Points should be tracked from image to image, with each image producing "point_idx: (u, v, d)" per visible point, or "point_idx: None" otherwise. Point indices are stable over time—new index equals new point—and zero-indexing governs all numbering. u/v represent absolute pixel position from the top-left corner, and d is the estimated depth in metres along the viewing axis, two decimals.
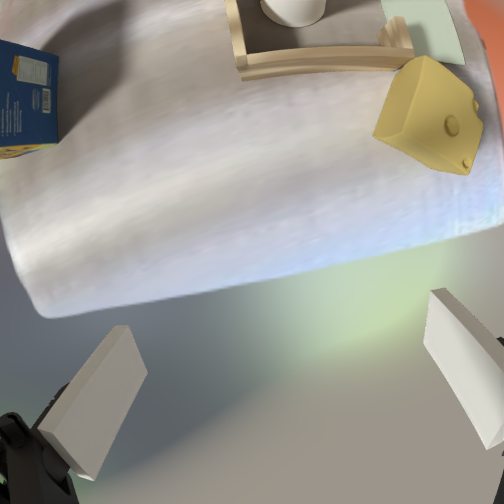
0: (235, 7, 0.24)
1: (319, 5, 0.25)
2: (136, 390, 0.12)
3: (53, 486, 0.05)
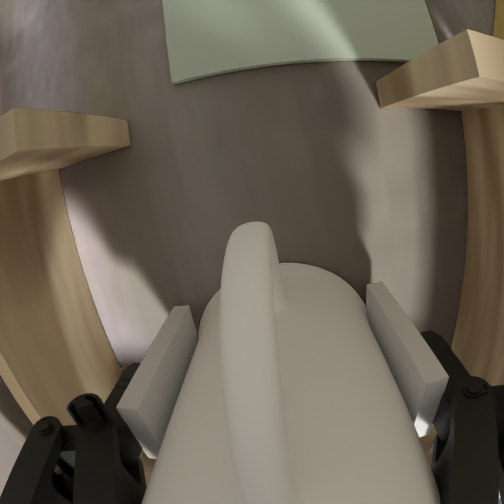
0: None
1: (384, 361, 0.09)
2: None
3: (126, 475, 0.06)
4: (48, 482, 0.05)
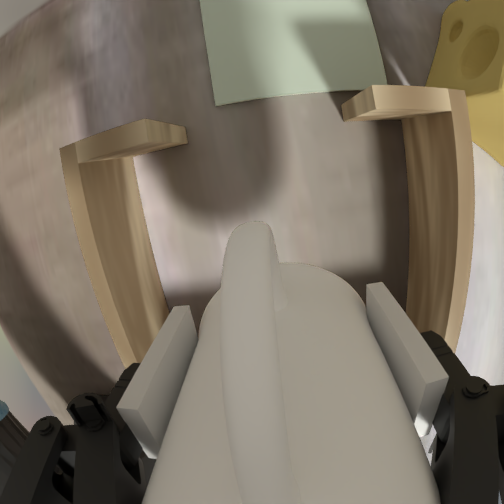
0: None
1: (383, 360, 0.09)
2: None
3: (126, 475, 0.06)
4: (48, 482, 0.05)
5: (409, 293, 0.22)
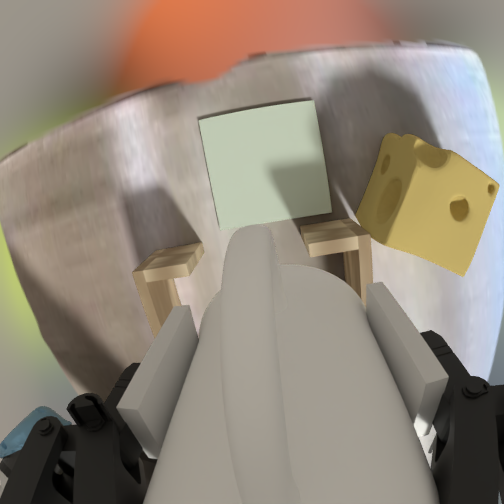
0: None
1: (384, 362, 0.09)
2: None
3: (126, 475, 0.06)
4: (48, 482, 0.05)
5: None
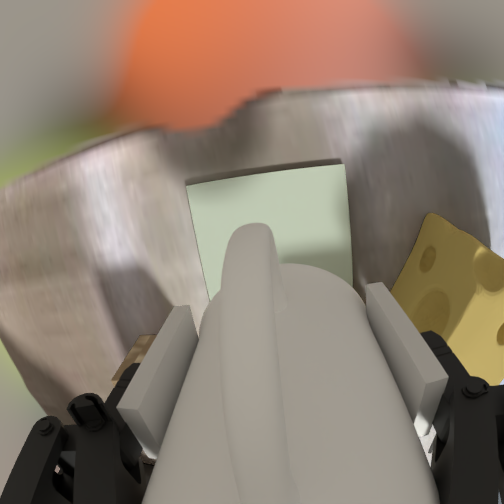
0: None
1: (384, 362, 0.09)
2: None
3: (126, 475, 0.06)
4: (48, 482, 0.05)
5: None
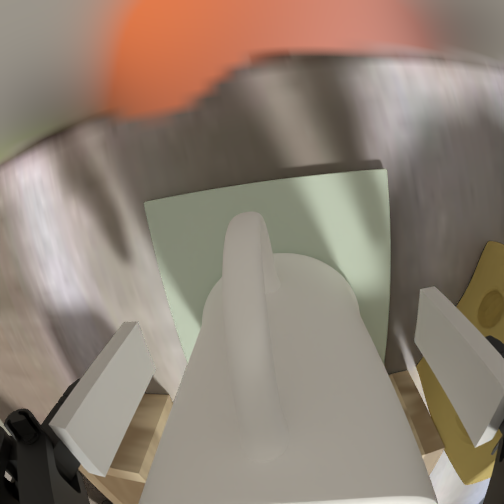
0: None
1: (367, 336, 0.10)
2: (145, 386, 0.12)
3: (63, 484, 0.05)
4: (1, 485, 0.04)
5: None
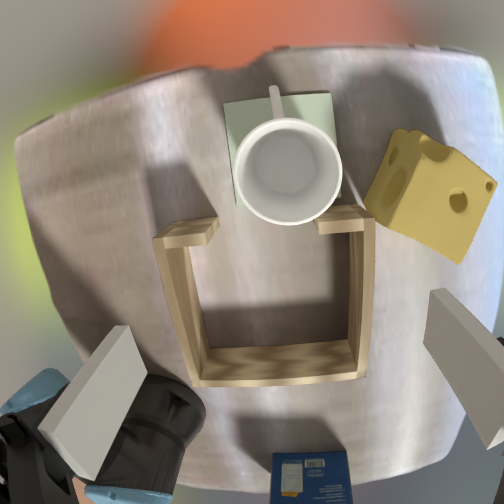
0: (305, 378, 0.34)
1: None
2: (136, 390, 0.12)
3: (53, 486, 0.05)
4: None
5: (349, 315, 0.38)
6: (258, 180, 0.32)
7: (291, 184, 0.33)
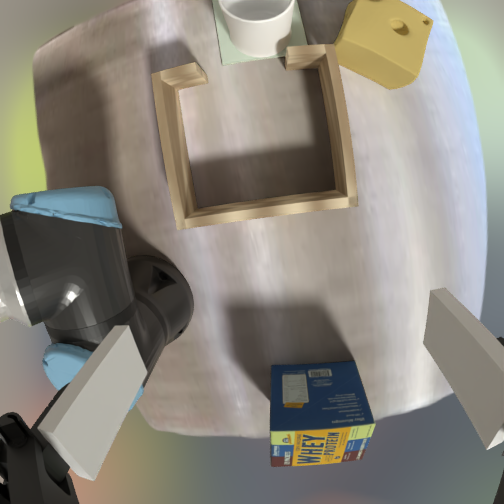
0: (294, 204, 0.35)
1: None
2: (136, 390, 0.12)
3: (53, 486, 0.05)
4: None
5: (333, 159, 0.39)
6: None
7: None
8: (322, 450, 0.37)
